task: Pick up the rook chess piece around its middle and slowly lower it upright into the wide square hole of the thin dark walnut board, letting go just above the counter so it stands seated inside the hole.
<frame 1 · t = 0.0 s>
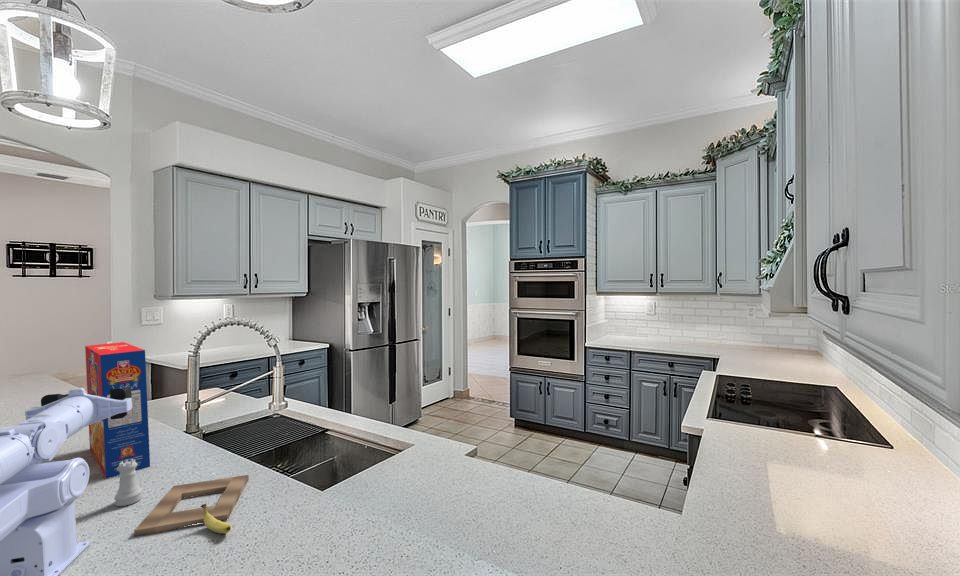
hand: (105, 394, 84), 22 cm above the counter, tool horizontal, fingers open, 7 cm apart
walnut socket board: (198, 504, 83), on the counter
banana: (216, 533, 73), on the counter
rook chess piece: (128, 502, 85), on the counter
blue and red box: (118, 458, 108), on the counter
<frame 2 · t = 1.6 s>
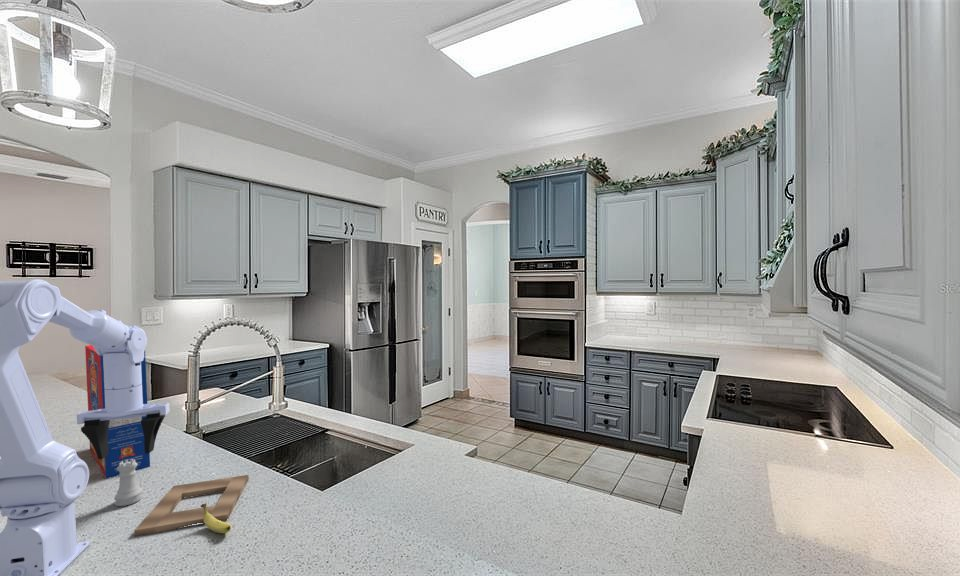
hand: (126, 454, 85), 9 cm above the counter, tool pointing down, fingers open, 7 cm apart
nothing on the counter moved.
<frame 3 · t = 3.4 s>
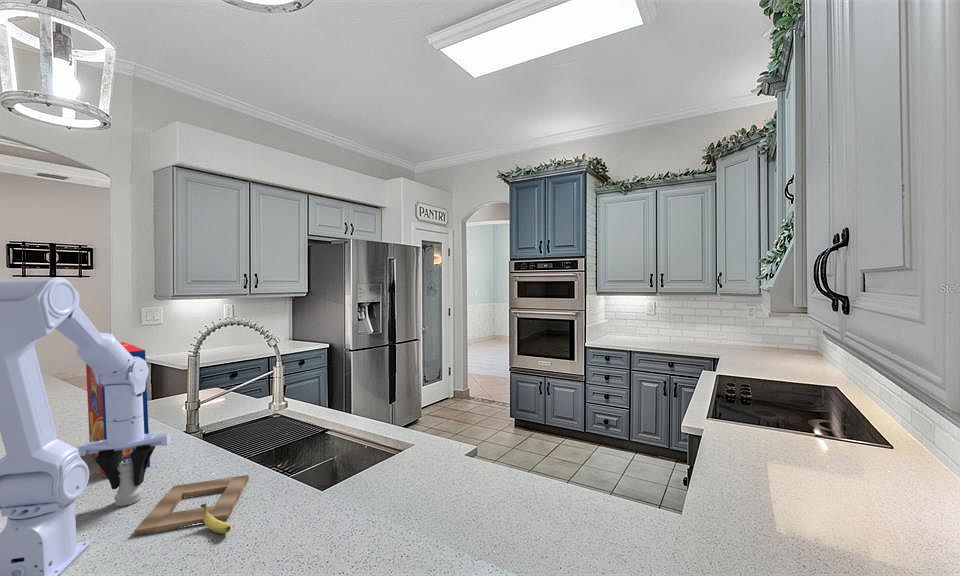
hand: (128, 485, 85), 3 cm above the counter, tool pointing down, fingers closed on rook chess piece, 3 cm apart
rook chess piece: (128, 502, 85), on the counter, touching gripper
everything else where it was.
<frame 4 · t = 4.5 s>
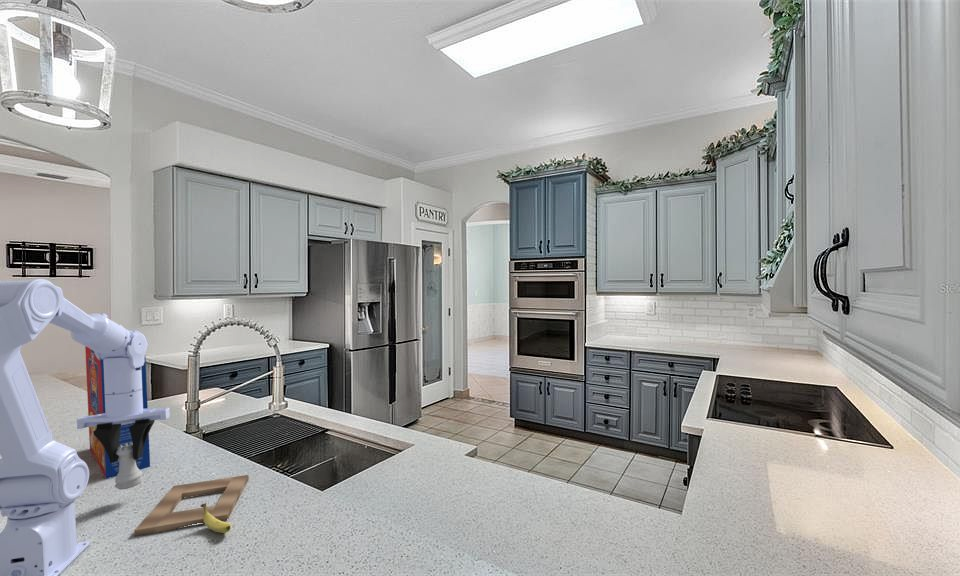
hand: (126, 459, 85), 8 cm above the counter, tool pointing down, fingers closed on rook chess piece, 3 cm apart
rook chess piece: (129, 485, 85), point 3 cm above the counter, touching gripper
everything else where it was.
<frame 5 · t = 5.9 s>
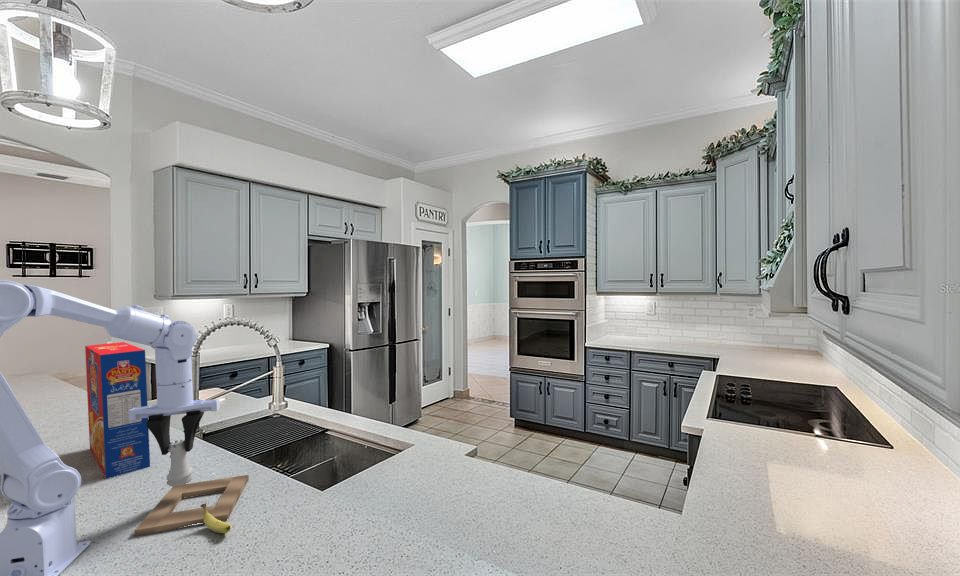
hand: (177, 451, 83), 10 cm above the counter, tool pointing down, fingers closed on rook chess piece, 3 cm apart
rook chess piece: (180, 482, 84), point 4 cm above the counter, touching gripper
everything else where it was.
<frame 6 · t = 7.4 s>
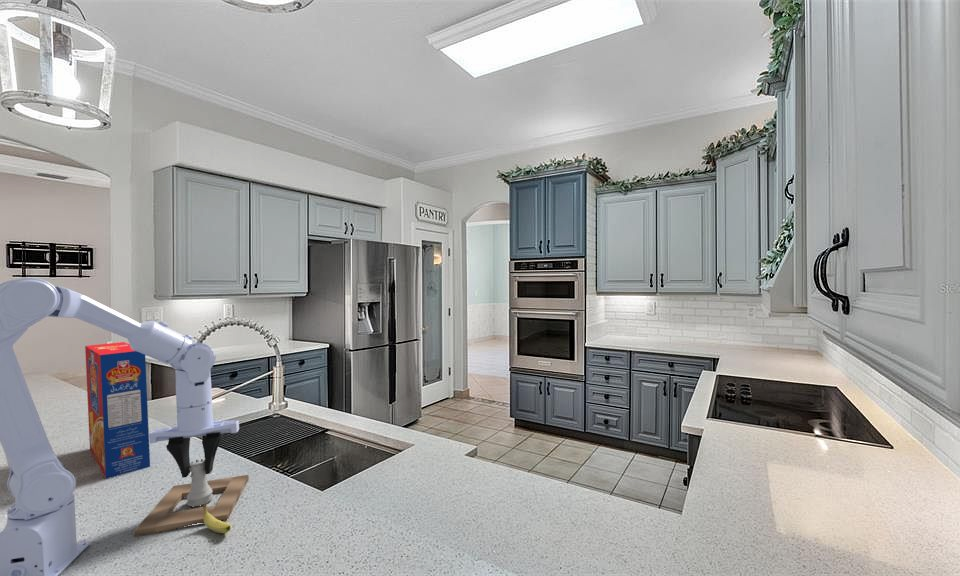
hand: (197, 473, 83), 6 cm above the counter, tool pointing down, fingers closed on rook chess piece, 3 cm apart
rook chess piece: (200, 502, 84), resting in walnut socket board, touching gripper
everything else where it was.
when the fingers open (4 cm above the counter, at t = 8.7 s): rook chess piece stays where it is, resting in walnut socket board.
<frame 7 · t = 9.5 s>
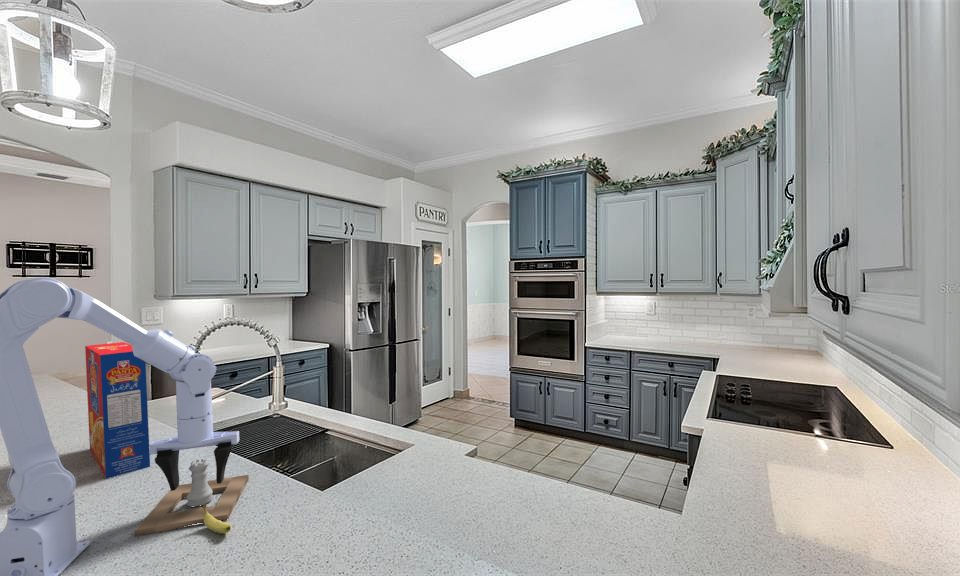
hand: (197, 484, 83), 4 cm above the counter, tool pointing down, fingers open, 7 cm apart
rook chess piece: (200, 503, 84), resting in walnut socket board
everything else where it was.
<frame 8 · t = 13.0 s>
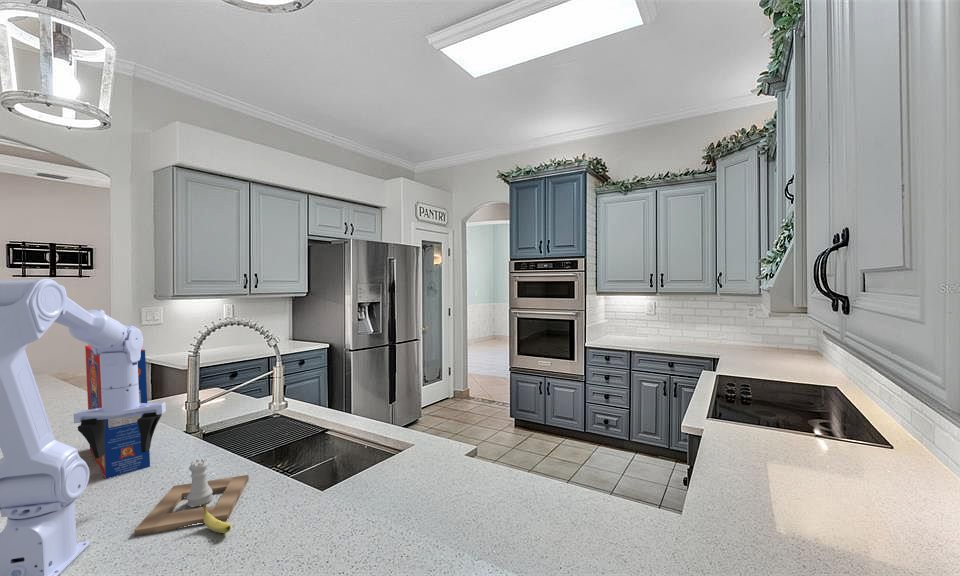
hand: (123, 453, 85), 9 cm above the counter, tool pointing down, fingers open, 7 cm apart
nothing on the counter moved.
at the end: rook chess piece 0.9 cm off-centre on the walnut socket board, point 0.0 cm above the walnut socket board's base; rook chess piece tilted 0°; the gripper is holding nothing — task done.
